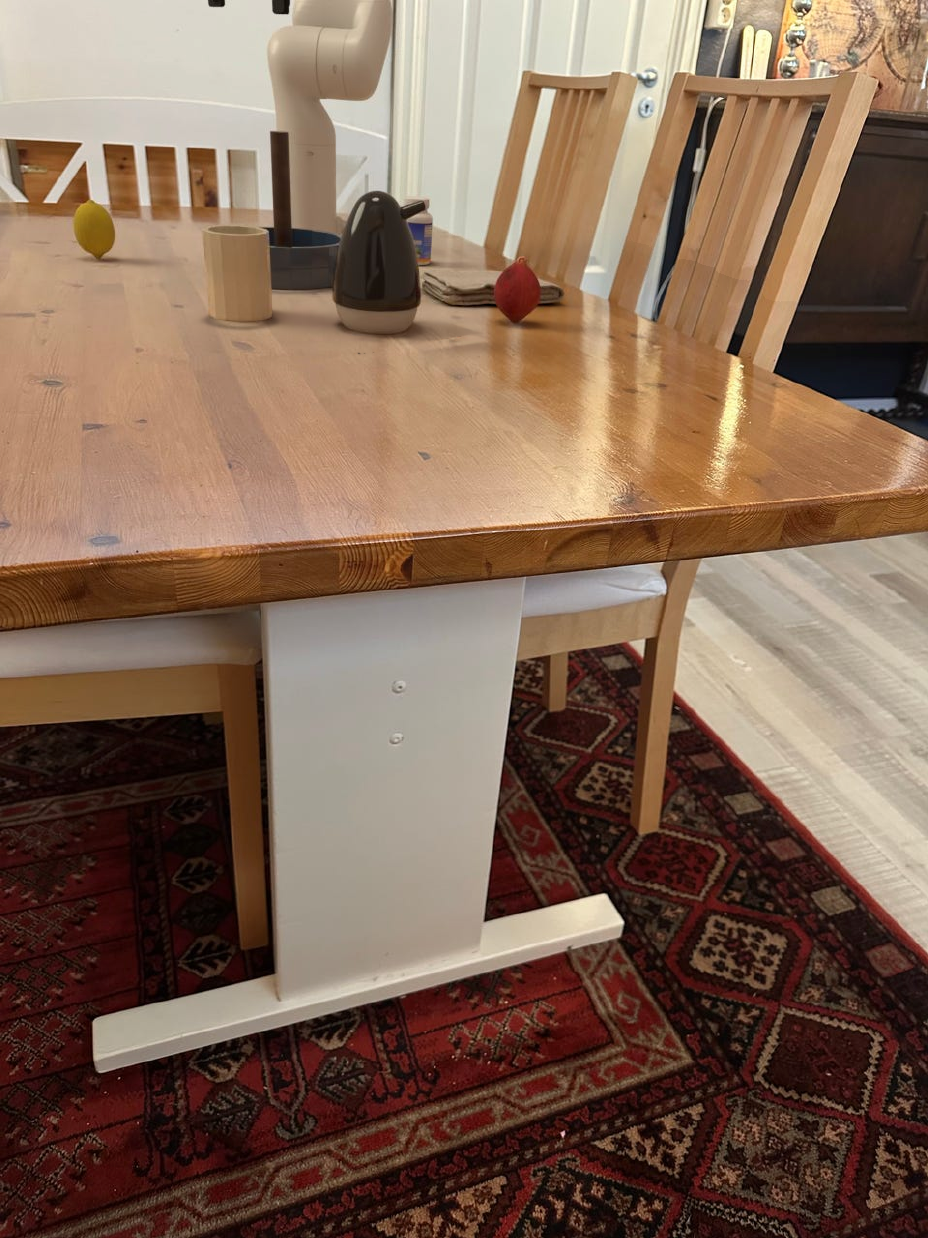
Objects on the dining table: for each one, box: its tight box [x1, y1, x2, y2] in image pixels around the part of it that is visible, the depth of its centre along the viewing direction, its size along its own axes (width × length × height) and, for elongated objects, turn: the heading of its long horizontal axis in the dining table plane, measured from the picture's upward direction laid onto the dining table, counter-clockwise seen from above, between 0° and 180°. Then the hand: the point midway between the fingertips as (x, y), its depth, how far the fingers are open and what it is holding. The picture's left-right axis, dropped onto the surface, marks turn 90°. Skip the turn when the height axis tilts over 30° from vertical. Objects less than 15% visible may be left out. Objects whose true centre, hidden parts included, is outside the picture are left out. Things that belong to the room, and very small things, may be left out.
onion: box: [494, 255, 541, 324], centre depth 113 cm, size 6×6×8 cm
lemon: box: [73, 199, 116, 260], centre depth 130 cm, size 6×6×8 cm
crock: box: [201, 224, 273, 323], centre depth 104 cm, size 7×7×10 cm
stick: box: [269, 130, 292, 247], centre depth 122 cm, size 2×2×18 cm
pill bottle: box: [403, 195, 434, 266], centre depth 144 cm, size 5×5×10 cm
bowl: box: [258, 226, 341, 291], centre depth 125 cm, size 18×18×6 cm
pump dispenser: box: [331, 190, 426, 335], centre depth 102 cm, size 10×10×15 cm
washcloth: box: [420, 269, 565, 306], centre depth 126 cm, size 12×18×3 cm, turn 111°
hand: (249, 10), depth 119 cm, fingers open, 9 cm apart
